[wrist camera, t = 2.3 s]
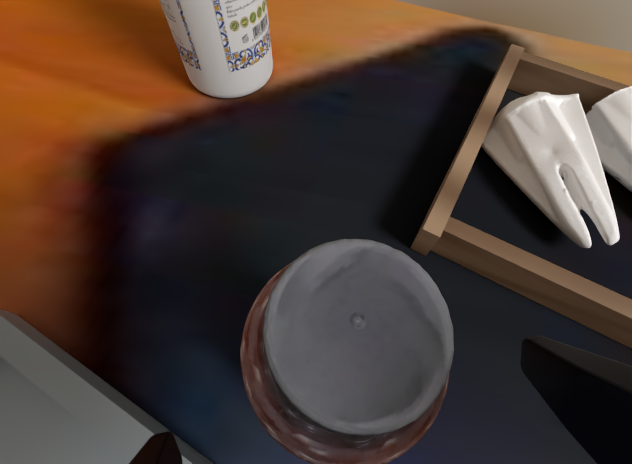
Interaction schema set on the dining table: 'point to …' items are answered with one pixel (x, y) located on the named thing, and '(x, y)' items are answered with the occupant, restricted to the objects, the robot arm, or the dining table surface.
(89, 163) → the dining table surface
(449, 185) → the frame
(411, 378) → the supplement bottle
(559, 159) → the salt and pepper shakers
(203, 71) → the bath foam
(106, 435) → the tray
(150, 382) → the dining table surface
